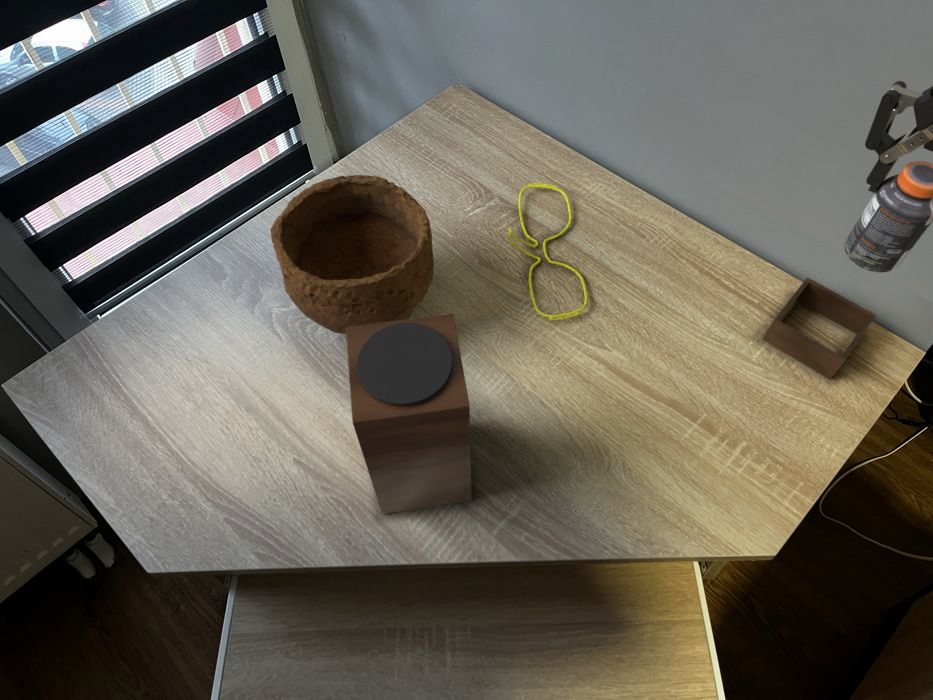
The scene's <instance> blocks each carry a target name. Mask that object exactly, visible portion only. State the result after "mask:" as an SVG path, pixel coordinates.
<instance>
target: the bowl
mask: <svg viewBox="0 0 933 700" xmlns="http://www.w3.org/2000/svg"><path fill="white" fill-rule="evenodd" d="M430 221H431V220H430V219H429V217H428V215H427V212H426V209H425V208H424V207H423V205H421V204H420V203H419V202H418V200H417V199H416V198H415V197H413V196H412V195H411V194H410V193H409V192H407V191H406V190H405V189H404V188H403V187H401V186H398V185H396V184H395V182H394V181H388V179H387V178H384V177H381V176H377V175H369V174H367V175H364V174H363V175H362V174H354V175H353V174H351V175H346V176H345V175H339V176H335V177H332V178H327V179H324V180H321V181H319V182H316V183H312V184H311V185H310V186H309V187H308V188H304V189H303V190H302V191H300V193H298V194H297V195H296V196H293V197H292V198H291V200H290V201H288V203H287V206H286V208H284V209H283V210H282V212H281V214H280V215H278V216H277V217H276V218H275V220H274V222H273V224H272V225H271V227H270V238H271V243H272V244H273V245H272V246H273V249H274V252H275V256H276V260H277V261H278V263H279V267H280V270H281V273H282V279H283V285H284V290H285V292H286V294H287V295H288V296H289V298H290V300H291V302H292V303H293V304H294V305H295V306H296V307H297V308H298V309H299V310H300V312H301V313H302V314H303V315H304V316H305V317H306V318H308V319H309V320H311V321H312V322H314V323H316V324H318V325H319V326H321V327H323V328H325V329H327V330H329V331H331V332H333V333H335V334H344V335H346V327H351V326H359V325H367V324H374V323H382V322H389V321H397V320H405V319H409V318H410V317H411V316H412V315H413V314H414V312H415V310H416V309H417V307H418V306H419V305H420V304H421V303H422V301H423V300H424V299H425V297H426V295H427V294H428V291H429V288H430V287H431V286H432V285H431V284H432V282H433V279H434V271H435V259H434V251H433V233H432V228H431V222H430Z"/></svg>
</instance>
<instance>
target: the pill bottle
mask: <svg viewBox="0 0 933 700" xmlns="http://www.w3.org/2000/svg"><path fill="white" fill-rule="evenodd" d="M932 223H933V163H931V162H928V161H925V160H924V161H923V160H915V161H911V162H909V163H906V165H904V167H903V168H902V170H901V171H900V172H899V174H894V175H891V176H889V177H886V179H885V180H884V181H883V182H882V184H881V185H880V186H879V188H878V190H877V191H876V192H875V193H873V196H872V197H871V199H870V200H869V202H868V204H867V205H866V207H865V208H864V210H863V211H862V213H861V215H860V216H859V218H858V220H857V221H856V222H855V224H854V226H853V227H852V229H851V231H850V233H849V234H848V235H847V237H846V239H845V241H844V244H843V245H844V246H843V248H844V252H845V255H846V256H847V257H848V259H849V260H850V261H851V262H852V263H853V264H854V265H856V266H857V267H859V268H860V269H863V270H866V271H869V272H873V273H889V272H892V271H894V270H896V269H897V268H898V267H899V266H900V265H901V264H902V263H903V262H904V260H905V259H906V257H907V256H908V255H909V253H910V252H911V251H912V249H913V248H914V246H915V245H916V244H917V243H918V242H919V240H920V239H921V237H922V236H923V235H924V234H925V232H926V231H927V230H928V228H929V227H930V226H931V224H932Z"/></svg>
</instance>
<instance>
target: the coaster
mask: <svg viewBox="0 0 933 700" xmlns="http://www.w3.org/2000/svg"><path fill="white" fill-rule="evenodd" d="M452 367H453V360H452V353H451V350H450V347H449V345H448V343H447V342H446V340H445V339H444V338H443V337H442V336H441V335H440V334H439V333H438V332H436V331H435V330H433V329H431V328H429V327H427V326H424V325H421V324H416V323H399V324H394V325H390V326H387V327H385V328H383V329H381V330H379V331H377V332H376V333H375V334H373V335H372V336H371V337H370V338H369V339H368V340H367V341H366V342H365V344H364V345H363V347H362V348H361V350H360V353H359V356H358V360H357V371H358V376H359V379H360V382H361V384H362V386H363V387H364V389H365V390H366V391H367V392H368V393H369V394H370V395H371V396H372V397H373V398H375V399H377V400H378V401H380V402H383V403H385V404H388V405H393V406H413V405H417V404H420V403H423V402H425V401H428V400H430V399H431V398H433V397H434V396H436V395H437V394H438V393H439V392H440V391H441V390H442V389H443V388H444V387H445V385H446V384H447V382H448V380H449V378H450V376H451V373H452Z"/></svg>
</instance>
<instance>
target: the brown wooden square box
mask: <svg viewBox="0 0 933 700" xmlns="http://www.w3.org/2000/svg"><path fill="white" fill-rule="evenodd" d="M797 303H801V304H802V305H804V306H805V307H807V308H810V309H812V310H813V311H815V312H816V313H818V314H820V315H822V316H824V317H825V318H827V319H828V320H831V321H833V322H835V324H836V323H837V324H838V325H840V326H841V327H843V328H845V329H847V330H849V331H851V332H852V333H853V334H854V335H853V336H852V338H851V339H850V341H849V342H848V343H847V345H846V346H845V347H844V349H843V351H842V352H841V354H840V355H839V354H837V353H836V352H834V351H833V350H831V349H829V348H827V347H826V346H824V345H822V344H820V343H818V342H817V341H816V340H813V339H812V338H810V337H808V336H806V335H805V334H803V333H802V332H799V331H798V330H796V329H795V328H793V327H791V326H789V325H787V324H786V323H784V322H783V321H784V319H785V318H786V317H787V316H788V314H790V312H791V310H792V309H793V308H794V306H795V305H796V304H797ZM876 317H877V314H876V313H874V312H872V311H870V310H868V309H866V308H865V307H863V306H861V305H859V304H857V303H856V302H853V301H852V300H850V299H849V298H847V297H845V296H843V295H841V294H840V293H837V292H836V291H834V290H832V289H830V288H828V287H826V286H824V285H823V284H821V283H819V282H817V281H815V280H814V279H811V278H809V277H806V278H805V279H804V281H803V282H802V283H801V284H800V286H799V287H798V289H797V290H796V291H795V292H794V293H793V295H792V296H791V297H790V298H789V299H788V301H787V303H786V304H785V305H784V306H783V307H782V309H781V310H780V312H779V313H777V315H776V317H775V318H773V320H772V322H771V323H770V325H769V327H768V328H767V330H766V332H765V333H764V335H763V337H762V341H764V342H766V343H768V344H769V345H771V346H772V347H774V348H775V349H778V350H779V351H781V352H783V353H784V354H786V355H787V356H789V357H791V358H793V359H794V360H796V361H798V362H799V363H801V364H803V365H805V366H806V367H808V368H809V369H812V371H814V372H816V373H818V374H819V375H821V376H823V377H825V378H826V379H828V380H831V379H832V378H833V377H834V376H835V374H836V373H837V372H838V371H839V369H840V368H841V367H842V366H843V364H844V363H845V362H846V360H847V359H848V358H849V356H850V354H851V353H852V352H853V350H854V349H855V347H856V346H857V345H858V343H859V341H860V340H861V338H862V337H863V335H864V334H865V333H866V331H867V330H868V328H869V327H870V326H871V324H872V322H873V321H874V319H876Z"/></svg>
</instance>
